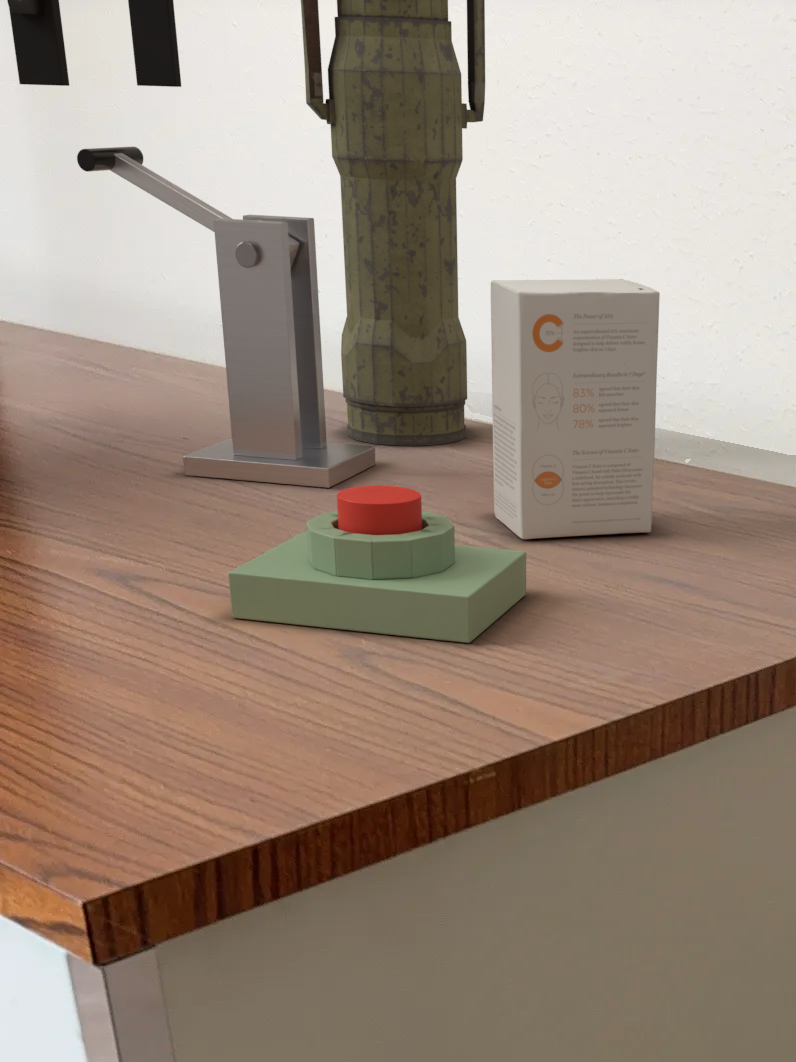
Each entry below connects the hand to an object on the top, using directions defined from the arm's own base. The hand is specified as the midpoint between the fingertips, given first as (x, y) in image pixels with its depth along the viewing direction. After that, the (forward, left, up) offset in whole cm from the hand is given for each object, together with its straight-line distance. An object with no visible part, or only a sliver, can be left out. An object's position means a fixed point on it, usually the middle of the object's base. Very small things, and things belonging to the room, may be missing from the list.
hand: (105, 86), depth 99 cm
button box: (+28, -28, -22) cm, 45 cm away
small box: (+32, -8, -22) cm, 39 cm away
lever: (+5, 0, -7) cm, 9 cm away
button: (+28, -28, -18) cm, 43 cm away
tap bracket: (+10, 0, -22) cm, 24 cm away
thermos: (+13, +15, -22) cm, 29 cm away
